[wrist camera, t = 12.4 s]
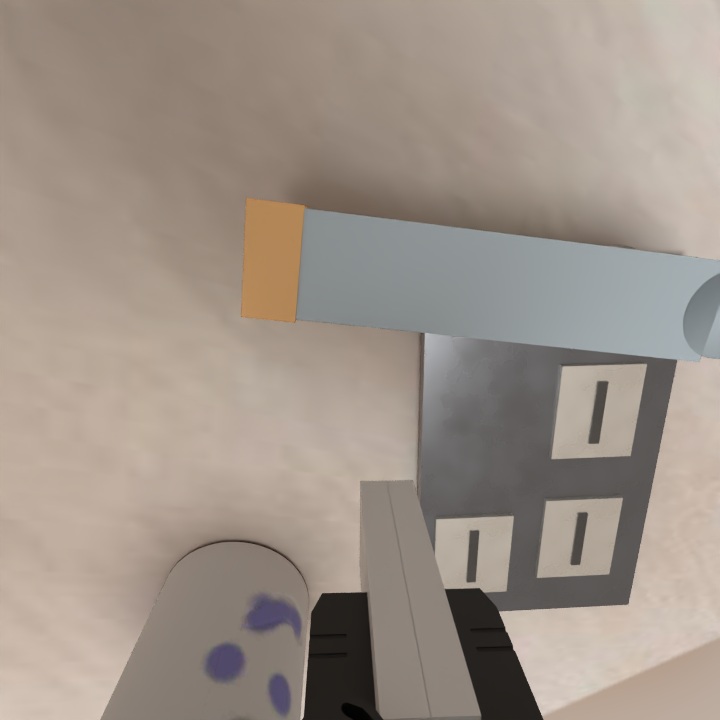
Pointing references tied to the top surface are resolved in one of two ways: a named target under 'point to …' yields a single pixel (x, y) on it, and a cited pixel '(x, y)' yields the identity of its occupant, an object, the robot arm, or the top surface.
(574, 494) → the slotted grey board
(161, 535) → the top surface
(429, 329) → the grey long bar
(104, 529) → the top surface
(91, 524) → the top surface
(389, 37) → the top surface
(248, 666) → the container
